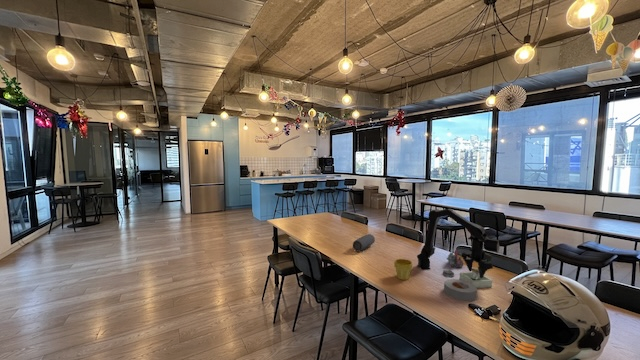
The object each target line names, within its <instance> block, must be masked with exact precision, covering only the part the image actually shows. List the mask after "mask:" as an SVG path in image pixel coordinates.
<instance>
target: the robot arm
mask: <svg viewBox="0 0 640 360" xmlns="http://www.w3.org/2000/svg"><path fill="white" fill-rule="evenodd" d="M442 217H449V218H450V219H452V220H453V221H455V222H456V223H457V224H459V225H461V226H462V227H464V228H465V229H466V231H468V233H469V234H470V236H469V237H468V238H467V239H468V240H470V241H471V248H469V252H468V251H467V252H462V253H461V258H462V260H463V262H465V265H466V266H467V269H468V272H472V269H473V263H474V262H475V263H477V264H478V266H477V269H478V270H479V275H480V278H483V276H485V274H486V272H487V271H488V270H491V269H492V270H493V269H494V268H493V267H494V265H493V263H492V262H491V261H492V258H493V255H491V254H489V253H486V251H488V252H492V253H497V254H498V253H499V251H500V246H501V245H500V241H499V239H493V238H492V239H491V238H490V237H489V235H488V234H487V233H486V230H485V227H483V226H481V225H480V224H477V223H474V222H471V221H470V220H468V219H466V218H465V217H464V216H462V215H460V214H459V213H457V212H456V211H454V210H453V209H452V208H448V209H446V208H445V209H436V208H435V209H432V210H430V211H429V212H428V222H429V223H428V229H427V232H426V239H425V243H424V245H422V248H421V251H420V253H418V254H417V255H416V257H417V264H416V266H417V268H419V270H431V260H430V258H431V257H432V256H433V255H434V254H435V251H436V247H435V246H434V240H435V235H436V232H437V226H438V223H439V222H440V220H441V218H442Z"/></svg>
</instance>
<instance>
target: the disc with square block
mask: <svg viewBox="0 0 640 360" xmlns="http://www.w3.org/2000/svg"><path fill="white" fill-rule="evenodd" d="M442 275H443V276H445V277H448V278H454V277H455V273H454V271H452V270H450V269H446V270H445V269H443V271H442Z"/></svg>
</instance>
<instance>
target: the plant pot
mask: <svg viewBox="0 0 640 360" xmlns="http://www.w3.org/2000/svg"><path fill="white" fill-rule="evenodd" d="M393 263H394V268H395V271H396V277H397V278H398V279H399V280H402V281H404V280H405V281H406V280H409V278H410V273H411V271H412V269H413V261H411V260H409V259H405V258H397V259H395V260H394V262H393Z"/></svg>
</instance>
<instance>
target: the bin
mask: <svg viewBox="0 0 640 360" xmlns="http://www.w3.org/2000/svg"><path fill="white" fill-rule="evenodd" d="M471 278H472V271H465V272H459V280H464V281H467V282H470V283H472V284H473V285H475V286H476V288H477V289H480V288H481V289H482V288H484V289H485V288H493V280H492V279H491V278H489V277H488V276H486V275H484V276H483V278H480V275H479V279H480V280H474V281H473V280H472V279H471Z"/></svg>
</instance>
